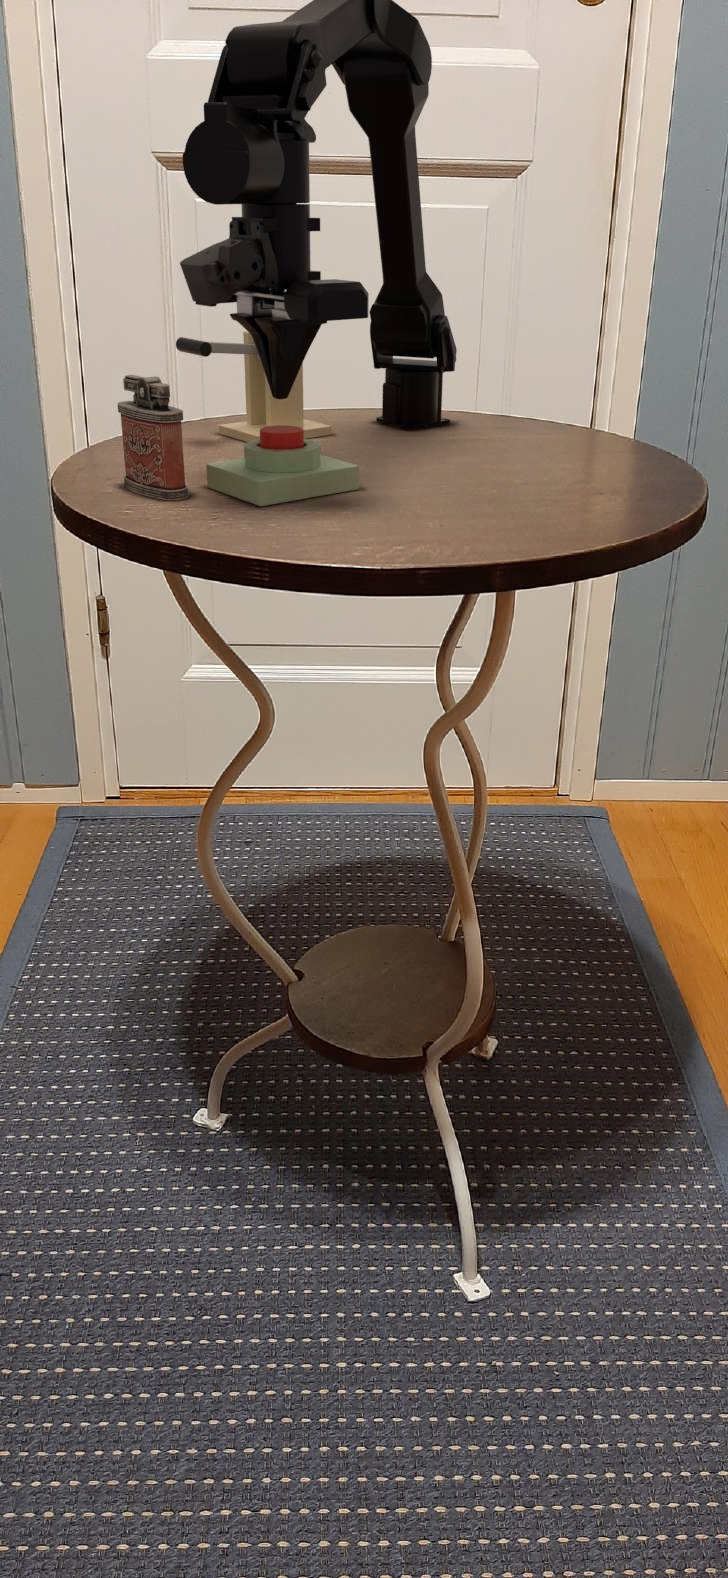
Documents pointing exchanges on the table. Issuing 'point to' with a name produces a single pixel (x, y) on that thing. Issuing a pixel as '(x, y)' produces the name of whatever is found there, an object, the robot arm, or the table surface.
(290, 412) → the bracket
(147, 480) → the lighter
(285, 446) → the button
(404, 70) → the robot arm
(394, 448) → the table surface
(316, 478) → the button box
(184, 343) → the lever
